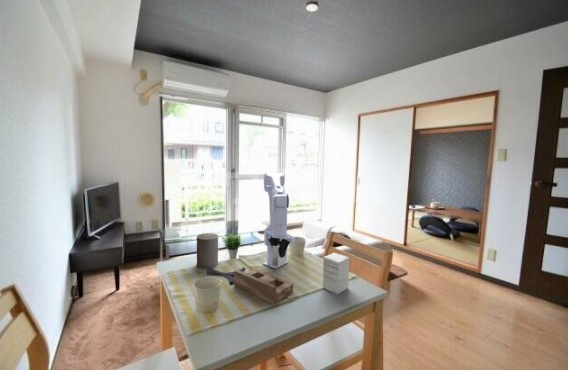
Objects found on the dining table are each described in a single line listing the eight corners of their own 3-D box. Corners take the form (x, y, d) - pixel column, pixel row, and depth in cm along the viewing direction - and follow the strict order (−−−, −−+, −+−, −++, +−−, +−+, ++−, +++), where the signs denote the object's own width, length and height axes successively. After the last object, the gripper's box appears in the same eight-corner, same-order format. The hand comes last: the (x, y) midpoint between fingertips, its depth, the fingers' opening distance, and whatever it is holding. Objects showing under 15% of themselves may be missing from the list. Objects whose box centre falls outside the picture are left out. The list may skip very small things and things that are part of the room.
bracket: (214, 267, 121) (214, 261, 121) (245, 270, 119) (245, 264, 118) (198, 282, 107) (198, 275, 107) (233, 286, 104) (233, 279, 104)
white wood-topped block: (281, 260, 113) (282, 241, 112) (287, 261, 111) (287, 243, 110) (272, 264, 108) (272, 245, 107) (277, 266, 106) (278, 247, 106)
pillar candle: (192, 267, 119) (192, 235, 118) (203, 259, 129) (203, 229, 127) (212, 270, 117) (212, 237, 116) (221, 261, 127) (222, 231, 125)
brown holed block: (255, 275, 112) (255, 262, 112) (292, 291, 100) (293, 276, 99) (234, 285, 103) (234, 270, 103) (273, 304, 91) (273, 287, 90)
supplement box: (332, 281, 108) (334, 252, 107) (348, 288, 103) (350, 257, 102) (321, 287, 103) (323, 256, 102) (337, 295, 98) (339, 262, 97)
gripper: (260, 222, 109) (259, 254, 110) (288, 228, 100) (287, 263, 101) (271, 219, 114) (270, 249, 116) (298, 225, 106) (297, 258, 107)
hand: (279, 255), depth 109 cm, fingers closed on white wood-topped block, 3 cm apart
